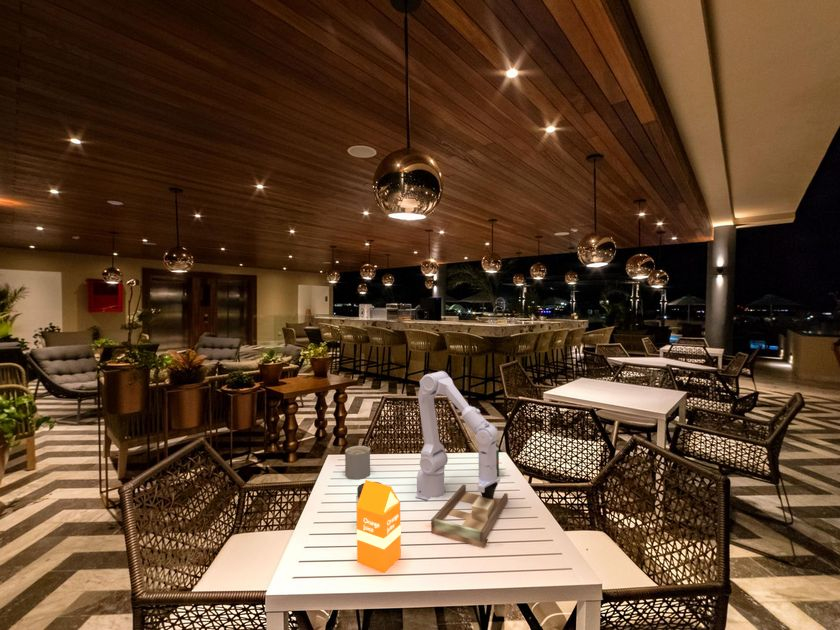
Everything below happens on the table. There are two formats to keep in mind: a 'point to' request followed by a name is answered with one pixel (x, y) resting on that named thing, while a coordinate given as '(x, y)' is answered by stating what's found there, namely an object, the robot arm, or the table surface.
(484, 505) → the maple block
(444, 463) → the robot arm
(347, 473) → the coffee mug
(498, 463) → the canned tomato
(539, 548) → the table surface
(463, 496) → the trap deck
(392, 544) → the orange juice
